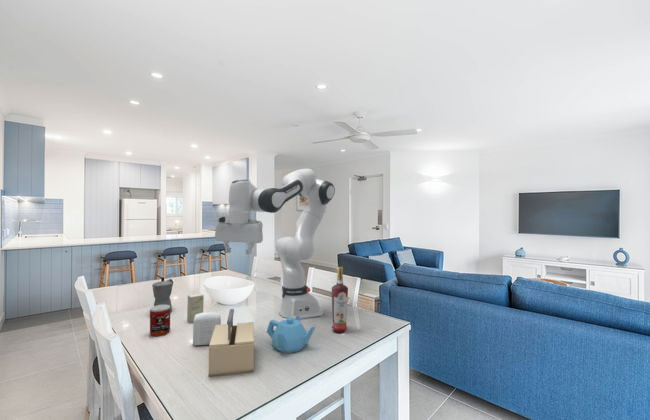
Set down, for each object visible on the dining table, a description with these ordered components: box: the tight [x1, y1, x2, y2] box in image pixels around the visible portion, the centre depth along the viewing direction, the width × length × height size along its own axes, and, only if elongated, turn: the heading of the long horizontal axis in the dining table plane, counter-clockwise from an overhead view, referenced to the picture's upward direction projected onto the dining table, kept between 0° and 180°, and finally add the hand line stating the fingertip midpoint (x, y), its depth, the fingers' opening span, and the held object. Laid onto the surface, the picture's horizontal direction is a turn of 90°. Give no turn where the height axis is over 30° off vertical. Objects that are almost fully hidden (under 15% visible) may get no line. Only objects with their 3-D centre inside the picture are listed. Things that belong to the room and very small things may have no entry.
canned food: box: [149, 305, 171, 337], centre depth 129 cm, size 8×8×11 cm
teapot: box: [266, 316, 316, 354], centre depth 118 cm, size 15×15×11 cm
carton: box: [208, 321, 255, 377], centre depth 106 cm, size 14×18×10 cm
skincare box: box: [186, 292, 205, 324], centre depth 143 cm, size 6×4×12 cm
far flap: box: [208, 308, 235, 348], centre depth 105 cm, size 7×17×7 cm, turn 13°
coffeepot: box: [151, 277, 174, 314], centre depth 154 cm, size 15×9×18 cm, turn 176°
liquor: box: [331, 266, 349, 334], centre depth 133 cm, size 7×7×28 cm
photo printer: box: [192, 311, 222, 347], centre depth 119 cm, size 10×4×12 cm, turn 103°
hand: (238, 253), depth 121 cm, fingers open, 8 cm apart
